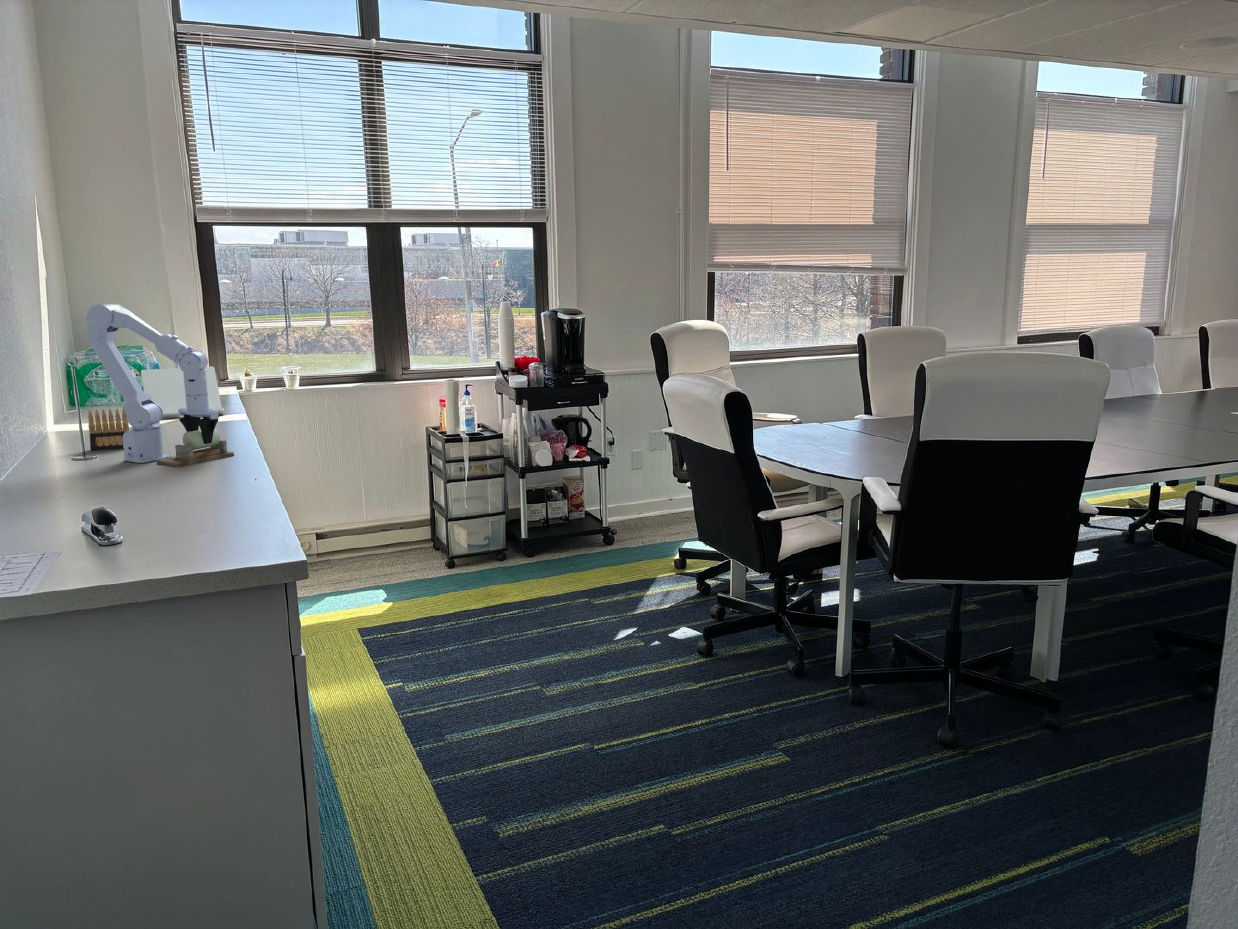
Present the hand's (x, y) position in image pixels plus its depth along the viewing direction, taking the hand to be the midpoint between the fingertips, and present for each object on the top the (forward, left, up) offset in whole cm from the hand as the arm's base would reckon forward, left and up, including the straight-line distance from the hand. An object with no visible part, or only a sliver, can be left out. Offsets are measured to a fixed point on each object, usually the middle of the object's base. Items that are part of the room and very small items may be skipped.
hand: (201, 442), depth 258 cm
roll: (0, 0, -2) cm, 2 cm away
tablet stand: (+50, +77, -5) cm, 92 cm away
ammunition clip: (-4, +36, -5) cm, 37 cm away
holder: (-2, 0, -5) cm, 5 cm away
